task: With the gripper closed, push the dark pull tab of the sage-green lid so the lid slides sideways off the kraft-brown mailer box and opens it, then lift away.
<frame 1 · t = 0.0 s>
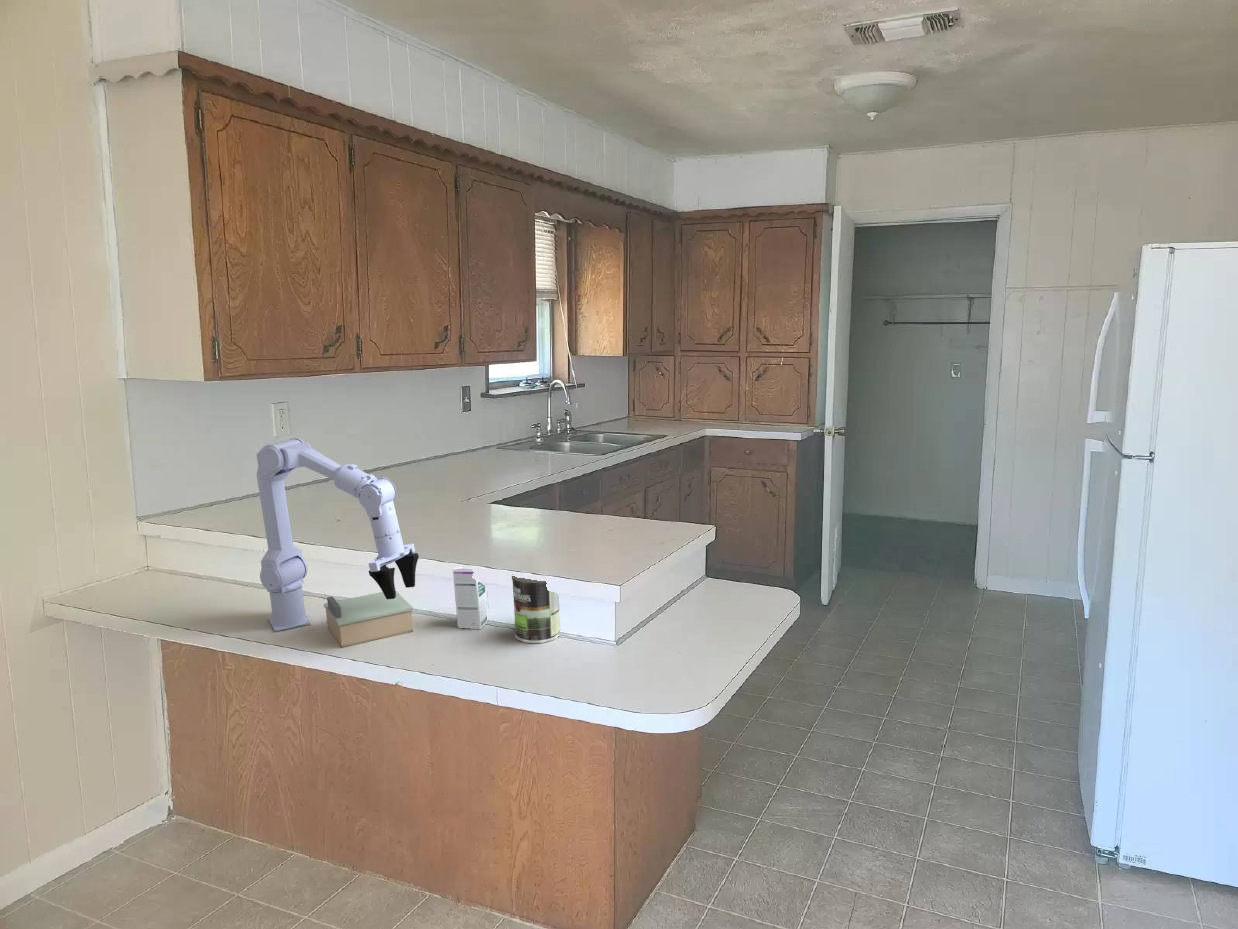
hand: (401, 592, 194), 11 cm above the table, tool pointing down, fingers open, 7 cm apart
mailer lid: (367, 601, 200), point 7 cm above the table, slide at 0.0 cm
coffee can: (538, 635, 196), on the table
syrup box: (473, 625, 203), on the table
mailer box: (370, 629, 202), on the table
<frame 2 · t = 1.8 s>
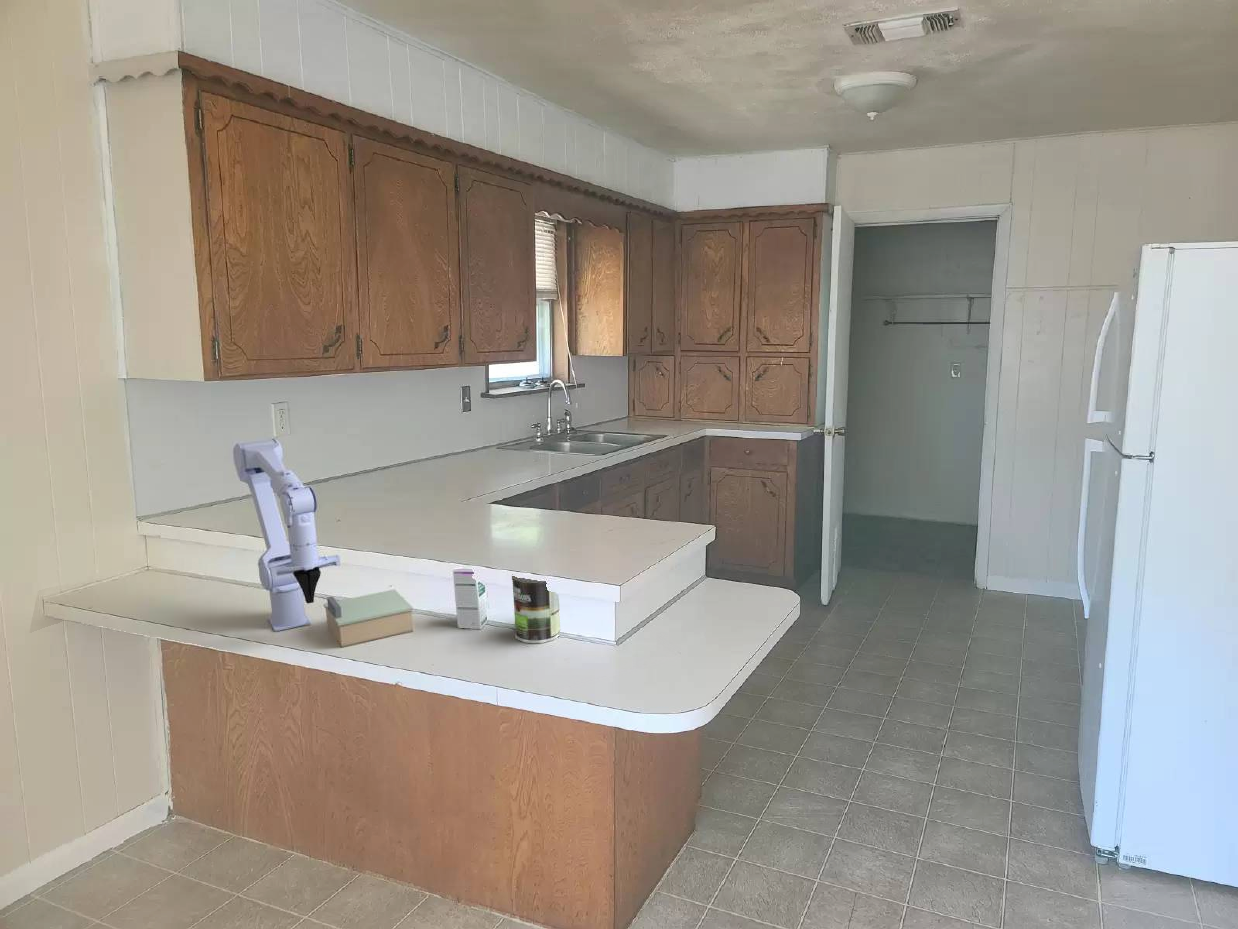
hand: (309, 601, 194), 9 cm above the table, tool pointing down, fingers closed
nothing on the table moved.
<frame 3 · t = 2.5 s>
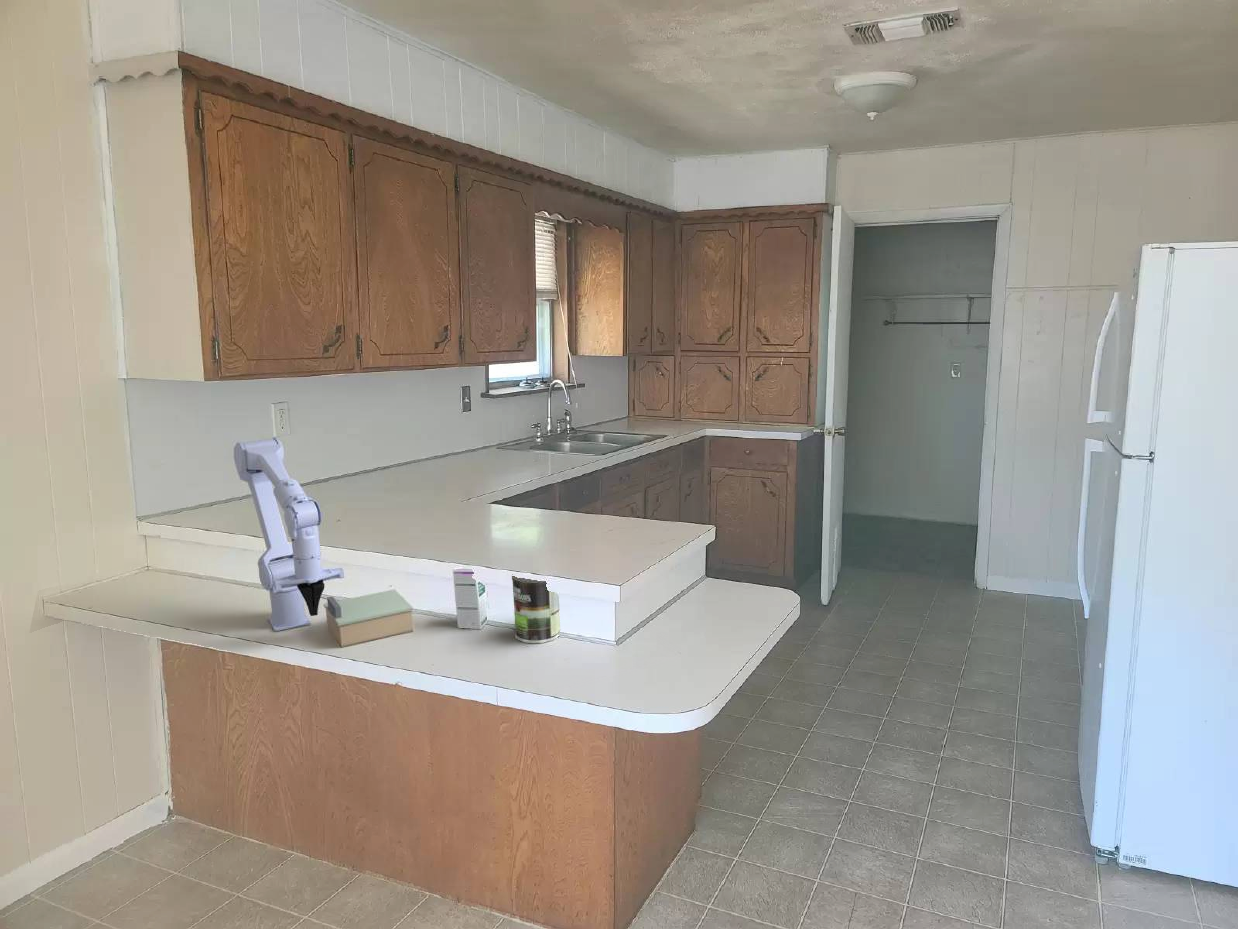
hand: (313, 614, 194), 6 cm above the table, tool pointing down, fingers closed
nothing on the table moved.
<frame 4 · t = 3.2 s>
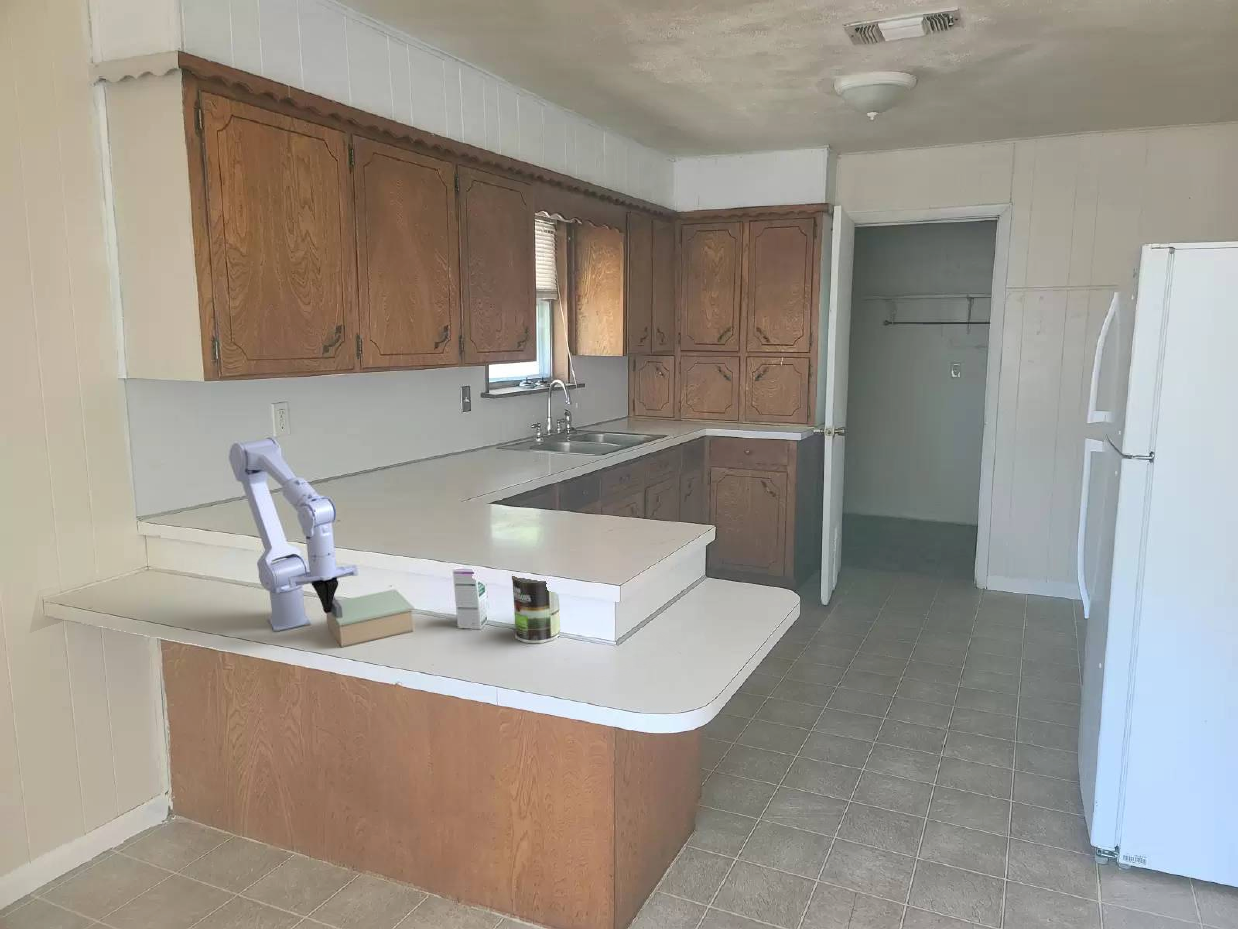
hand: (327, 611, 196), 6 cm above the table, tool pointing down, fingers closed
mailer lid: (368, 601, 200), point 7 cm above the table, slide at 0.2 cm, touching gripper
everything else where it was.
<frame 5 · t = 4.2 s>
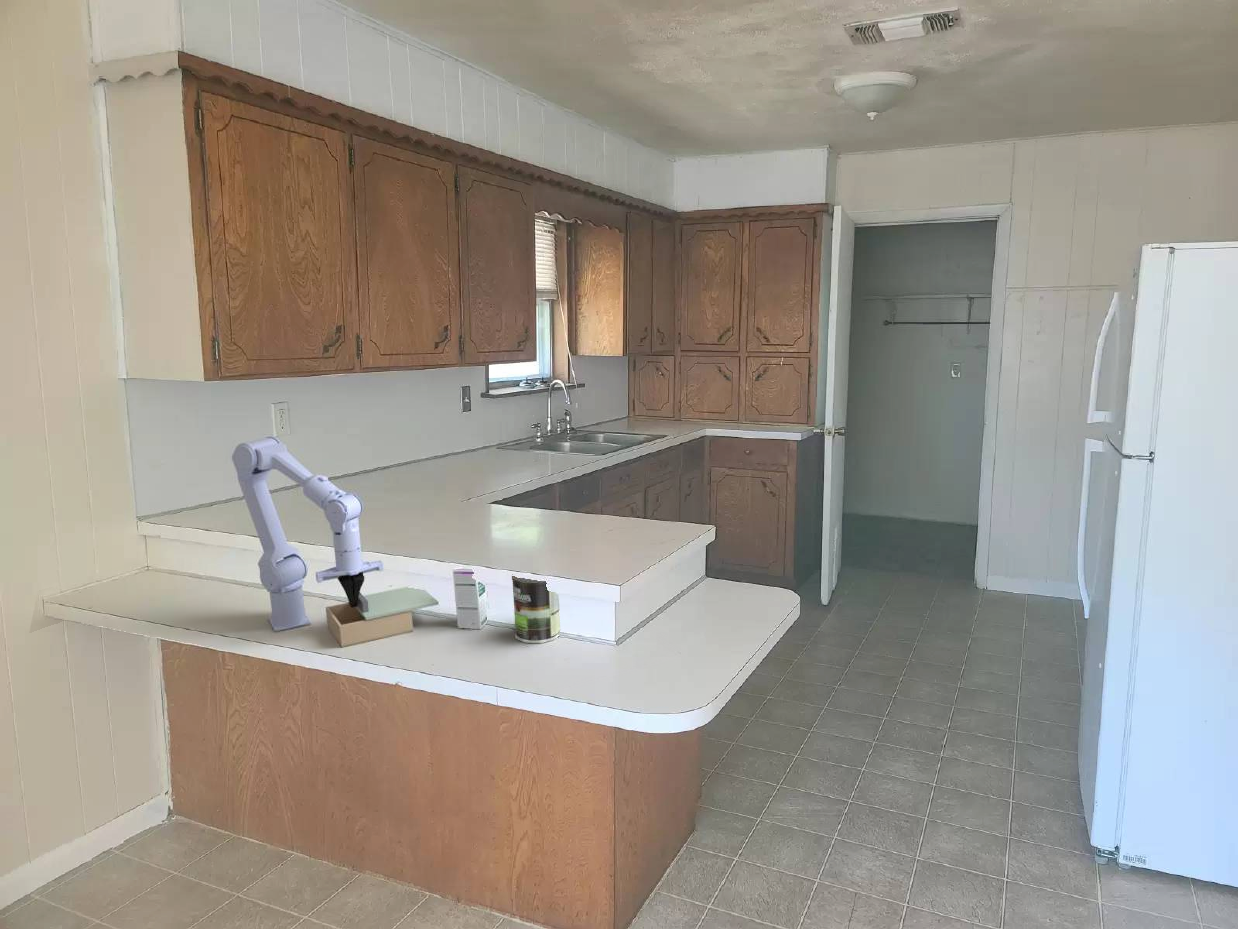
hand: (353, 606, 199), 6 cm above the table, tool pointing down, fingers closed
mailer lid: (393, 596, 203), point 7 cm above the table, slide at 6.0 cm, touching gripper
everything else where it was.
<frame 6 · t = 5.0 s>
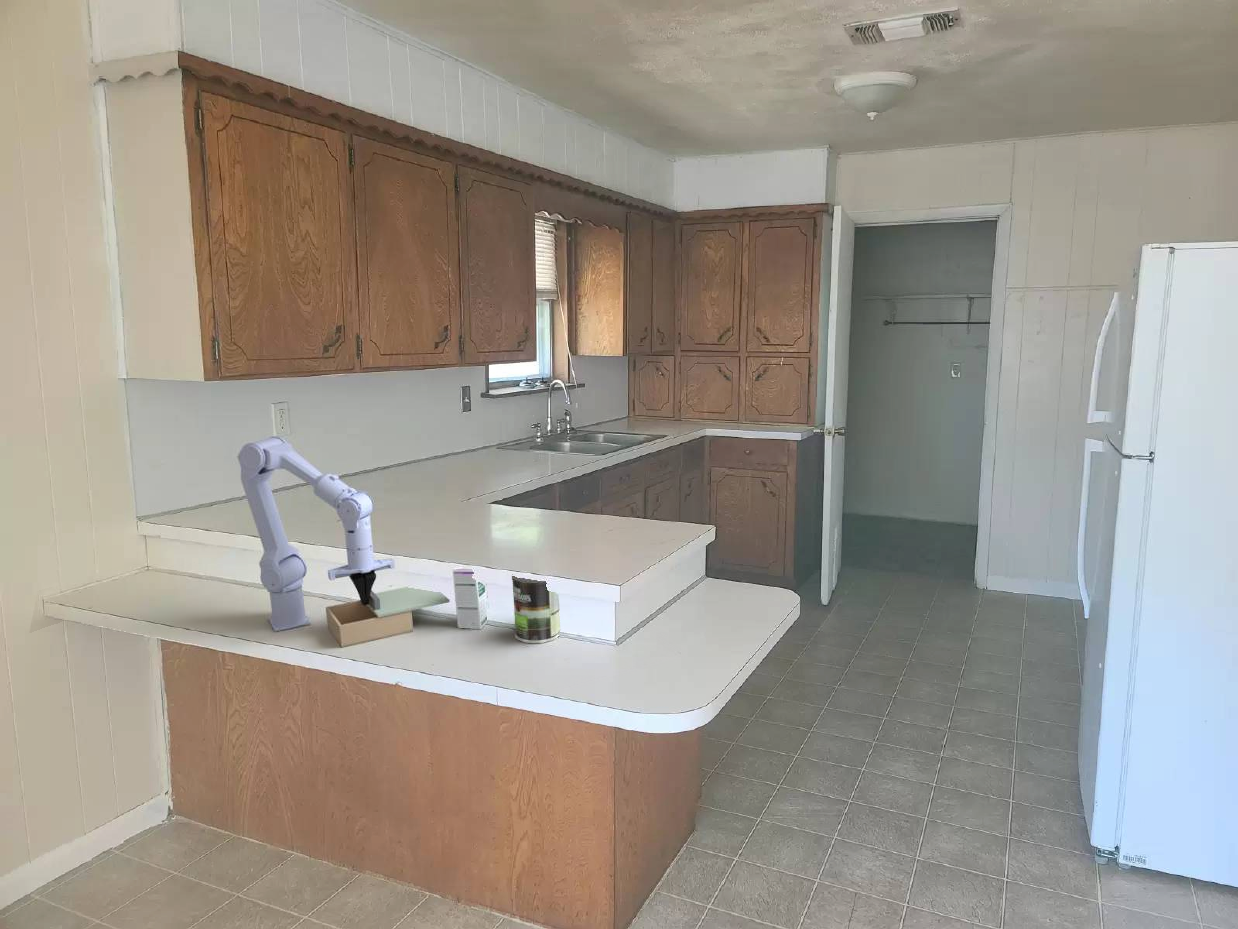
hand: (365, 603, 200), 6 cm above the table, tool pointing down, fingers closed
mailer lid: (404, 594, 204), point 7 cm above the table, slide at 8.6 cm, touching gripper
everything else where it was.
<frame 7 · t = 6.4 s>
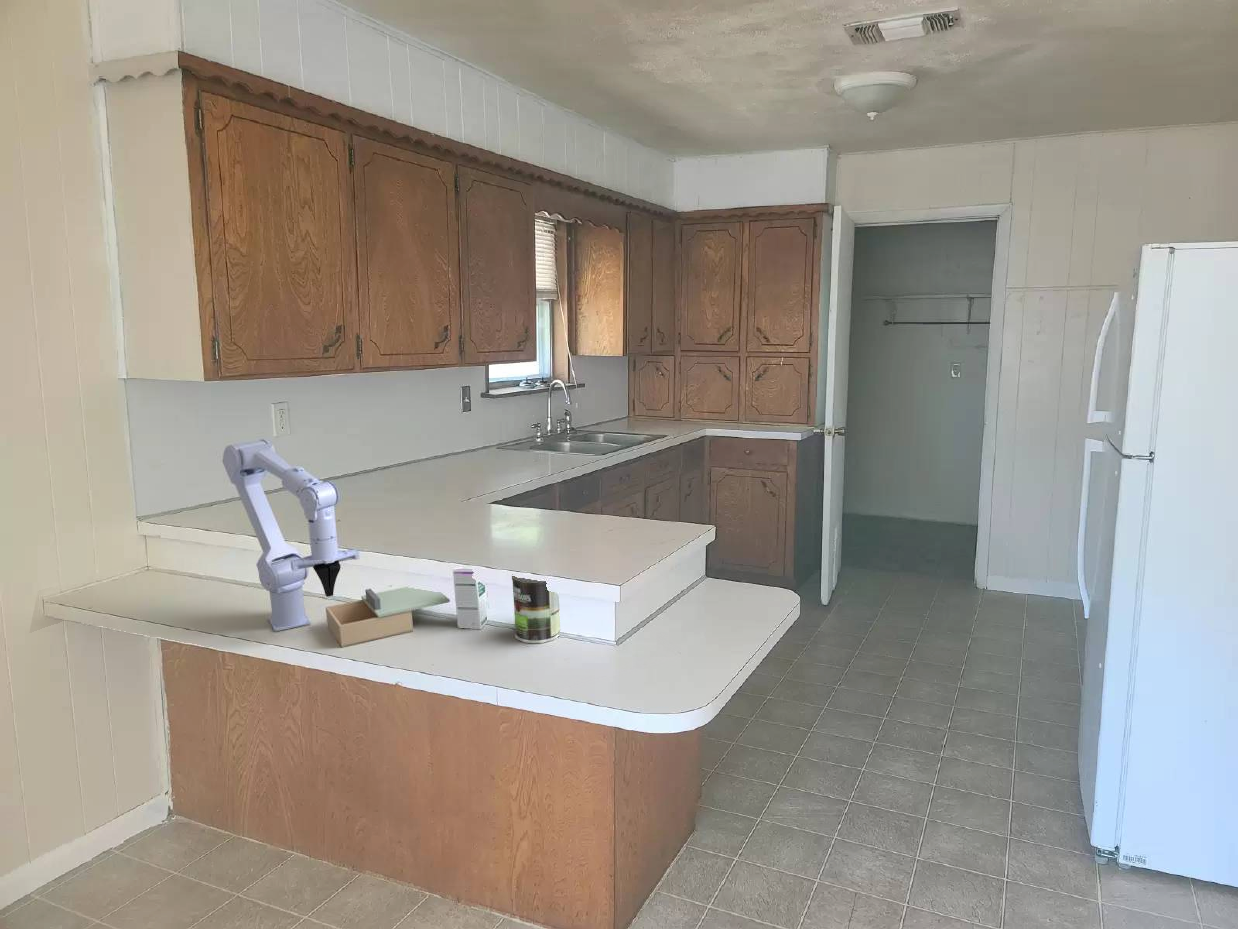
hand: (329, 595, 196), 10 cm above the table, tool pointing down, fingers closed
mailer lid: (404, 594, 204), point 7 cm above the table, slide at 8.7 cm
everything else where it was.
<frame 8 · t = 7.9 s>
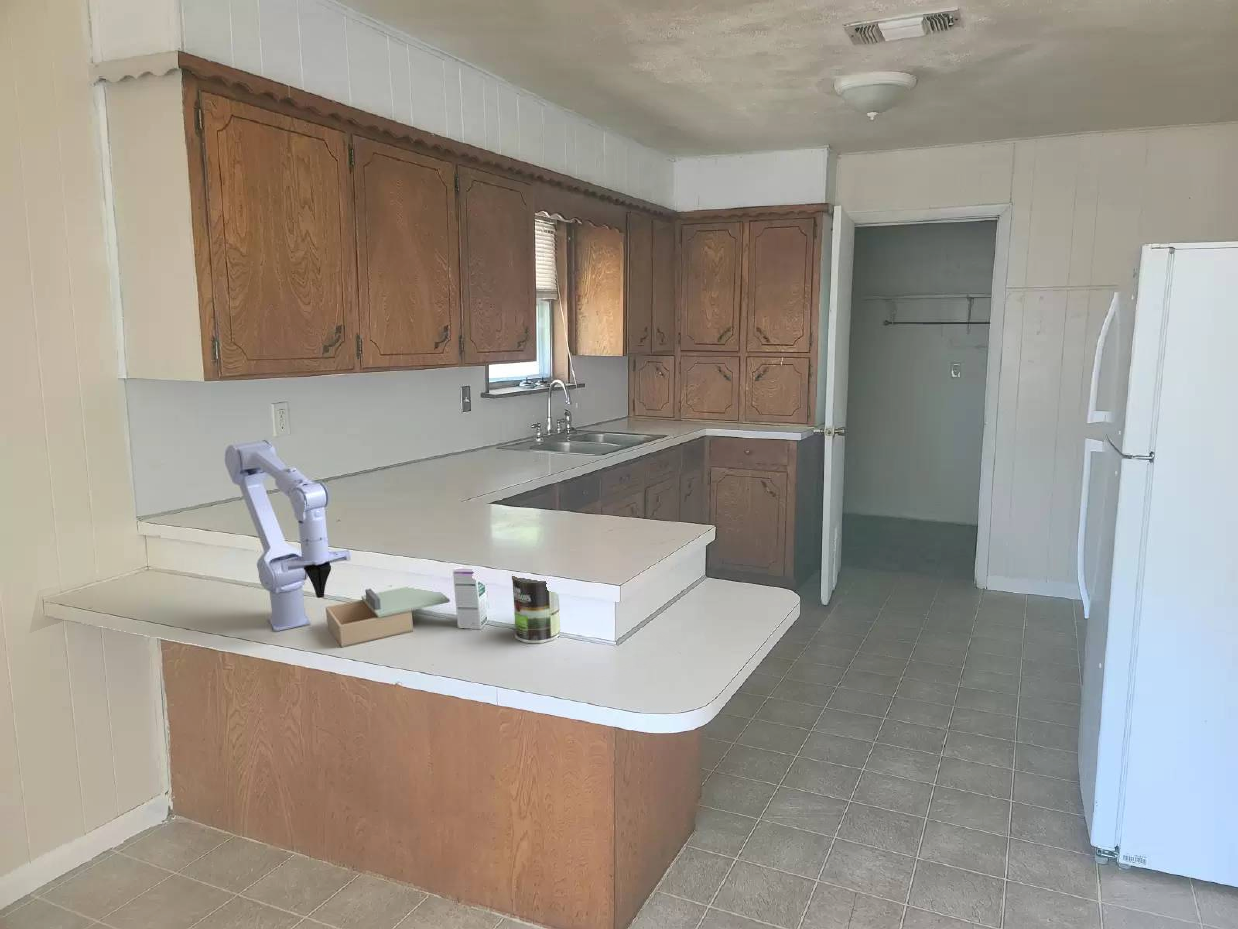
hand: (320, 596, 196), 10 cm above the table, tool pointing down, fingers closed
nothing on the table moved.
at the end: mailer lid slide at 8.7 cm; syrup box moved 0.2 cm from its start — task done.
